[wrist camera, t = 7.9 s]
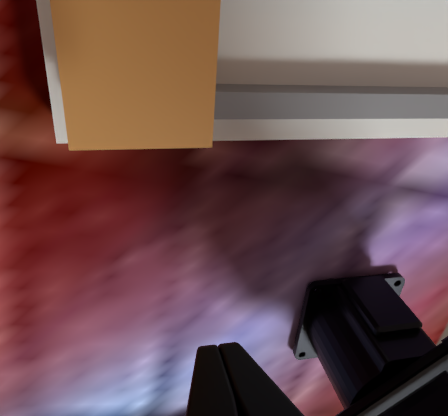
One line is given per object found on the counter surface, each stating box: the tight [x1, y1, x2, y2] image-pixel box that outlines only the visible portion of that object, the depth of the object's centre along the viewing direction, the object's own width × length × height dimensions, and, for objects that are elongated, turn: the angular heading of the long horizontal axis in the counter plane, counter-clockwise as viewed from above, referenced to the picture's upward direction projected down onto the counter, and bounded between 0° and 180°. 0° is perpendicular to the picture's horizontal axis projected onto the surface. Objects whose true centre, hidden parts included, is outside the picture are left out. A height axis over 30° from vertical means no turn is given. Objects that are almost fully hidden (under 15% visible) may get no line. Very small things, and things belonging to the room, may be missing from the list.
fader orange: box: [50, 0, 221, 150], centre depth 12 cm, size 5×4×4 cm
